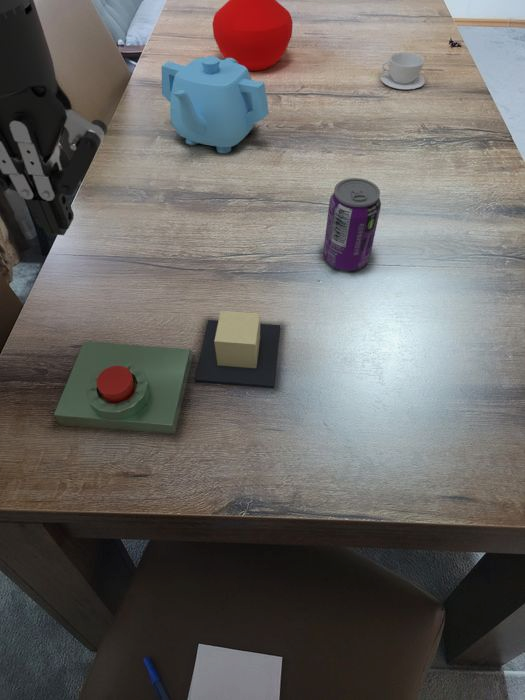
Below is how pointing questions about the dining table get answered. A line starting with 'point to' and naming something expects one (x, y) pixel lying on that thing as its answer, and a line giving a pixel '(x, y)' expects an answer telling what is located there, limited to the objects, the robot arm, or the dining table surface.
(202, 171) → the dining table surface
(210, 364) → the mat
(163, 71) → the teapot
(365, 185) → the beverage can
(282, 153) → the dining table surface
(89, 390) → the switch base
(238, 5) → the vase
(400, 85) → the teacup
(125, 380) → the switch
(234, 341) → the block
